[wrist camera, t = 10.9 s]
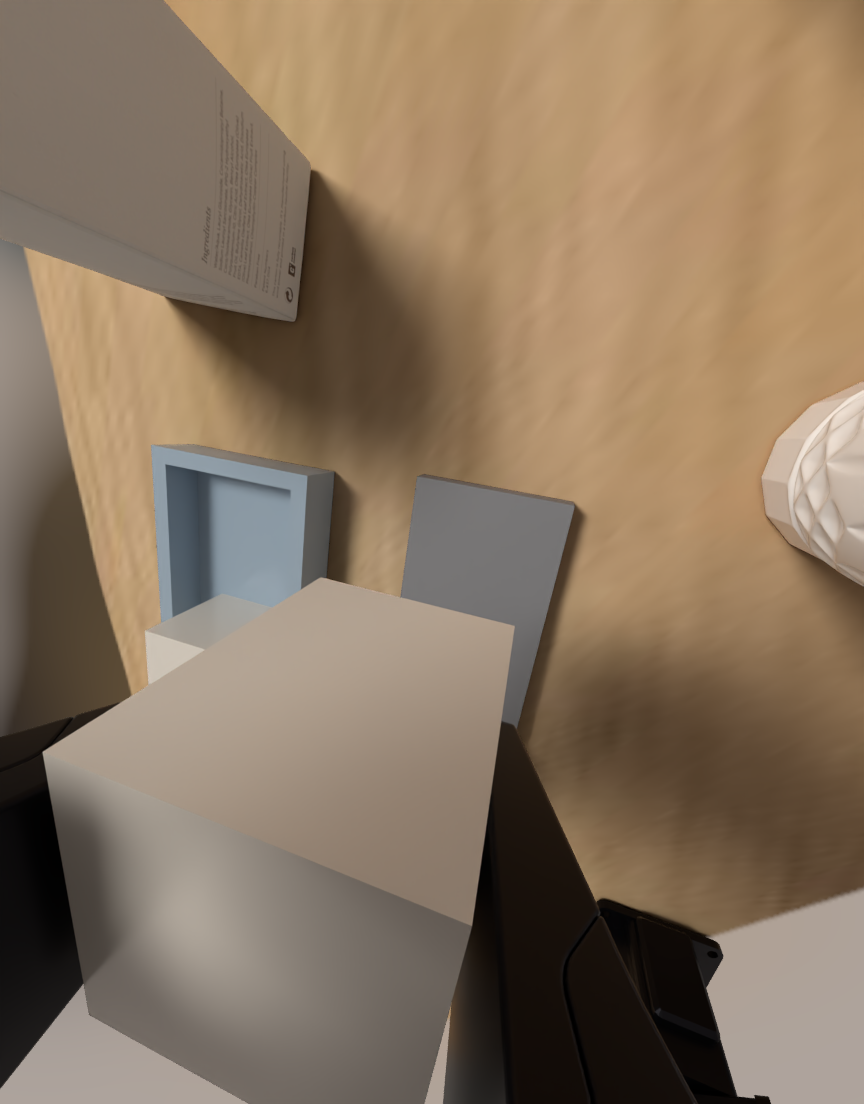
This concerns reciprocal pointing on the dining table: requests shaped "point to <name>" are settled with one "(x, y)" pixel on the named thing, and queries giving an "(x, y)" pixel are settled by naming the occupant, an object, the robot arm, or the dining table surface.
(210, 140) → the skincare box
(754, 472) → the dining table surface
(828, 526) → the white cup
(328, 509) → the blue bin
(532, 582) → the slate board
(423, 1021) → the stone
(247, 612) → the stone
